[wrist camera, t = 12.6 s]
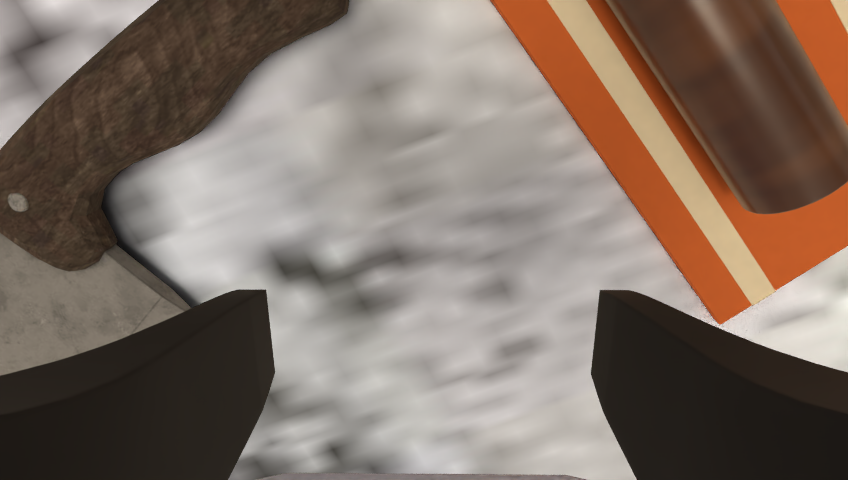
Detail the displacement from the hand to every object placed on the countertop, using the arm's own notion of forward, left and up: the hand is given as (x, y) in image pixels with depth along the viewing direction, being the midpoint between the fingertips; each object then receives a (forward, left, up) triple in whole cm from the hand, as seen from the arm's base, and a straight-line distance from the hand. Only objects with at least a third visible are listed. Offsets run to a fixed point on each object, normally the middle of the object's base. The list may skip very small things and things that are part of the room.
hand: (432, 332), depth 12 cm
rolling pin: (0, -11, -7) cm, 13 cm away
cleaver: (+7, +12, -10) cm, 17 cm away
